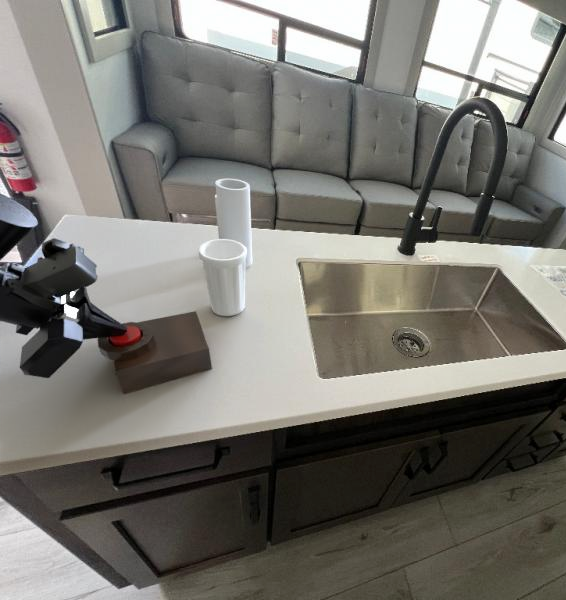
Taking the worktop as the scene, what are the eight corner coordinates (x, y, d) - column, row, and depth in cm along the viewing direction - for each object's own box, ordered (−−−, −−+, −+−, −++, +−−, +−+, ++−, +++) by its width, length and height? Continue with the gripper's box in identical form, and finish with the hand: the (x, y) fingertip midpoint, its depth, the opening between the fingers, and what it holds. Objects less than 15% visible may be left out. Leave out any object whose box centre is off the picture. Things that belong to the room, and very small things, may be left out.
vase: (253, 268, 82) (251, 191, 70) (221, 269, 79) (212, 188, 67) (250, 245, 89) (247, 172, 78) (220, 245, 86) (212, 169, 75)
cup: (210, 295, 71) (202, 236, 63) (251, 296, 74) (248, 240, 65) (203, 320, 65) (193, 259, 57) (247, 320, 68) (244, 262, 59)
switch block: (113, 397, 49) (99, 366, 45) (109, 351, 55) (96, 320, 51) (212, 368, 57) (207, 340, 53) (199, 331, 63) (194, 303, 59)
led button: (113, 353, 48) (110, 345, 47) (111, 337, 51) (108, 329, 49) (143, 346, 51) (141, 338, 50) (141, 331, 53) (138, 323, 52)
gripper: (17, 283, 31) (174, 335, 44) (30, 201, 42) (154, 262, 55) (-66, 364, 31) (115, 392, 44) (-32, 261, 42) (106, 308, 55)
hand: (125, 331), depth 49 cm, fingers closed, pressing on led button
